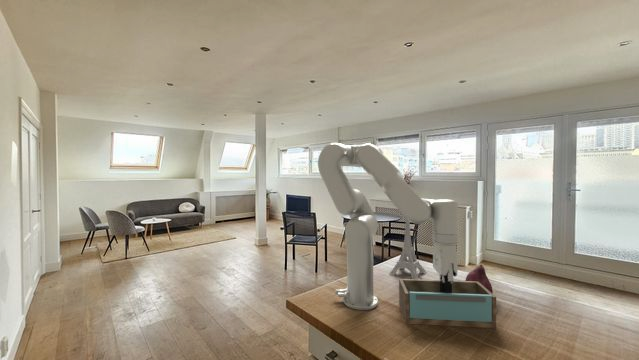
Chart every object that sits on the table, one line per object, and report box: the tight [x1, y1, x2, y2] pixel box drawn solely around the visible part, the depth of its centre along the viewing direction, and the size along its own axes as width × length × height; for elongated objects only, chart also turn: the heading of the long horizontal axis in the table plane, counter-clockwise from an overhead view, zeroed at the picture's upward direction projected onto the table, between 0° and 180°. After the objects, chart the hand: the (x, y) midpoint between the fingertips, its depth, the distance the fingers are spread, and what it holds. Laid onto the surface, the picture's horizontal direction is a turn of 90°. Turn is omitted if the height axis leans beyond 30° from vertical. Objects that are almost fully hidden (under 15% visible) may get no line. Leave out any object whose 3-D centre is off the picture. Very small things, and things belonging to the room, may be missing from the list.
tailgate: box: [409, 292, 492, 322], centre depth 84 cm, size 24×1×8 cm, turn 83°
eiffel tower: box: [388, 216, 428, 280], centre depth 128 cm, size 13×13×30 cm
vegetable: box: [464, 264, 494, 295], centre depth 101 cm, size 10×10×15 cm
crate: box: [398, 278, 497, 329], centre depth 90 cm, size 27×12×10 cm, turn 83°
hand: (445, 294), depth 88 cm, fingers closed
